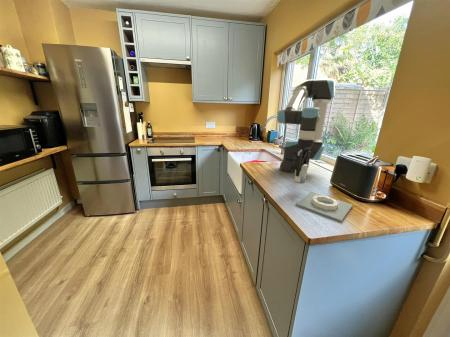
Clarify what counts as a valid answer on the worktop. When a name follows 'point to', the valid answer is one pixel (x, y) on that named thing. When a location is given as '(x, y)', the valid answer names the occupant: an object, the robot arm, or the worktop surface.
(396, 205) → the worktop surface
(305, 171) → the duct collar
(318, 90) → the robot arm
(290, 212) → the worktop surface
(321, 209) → the duct flange
